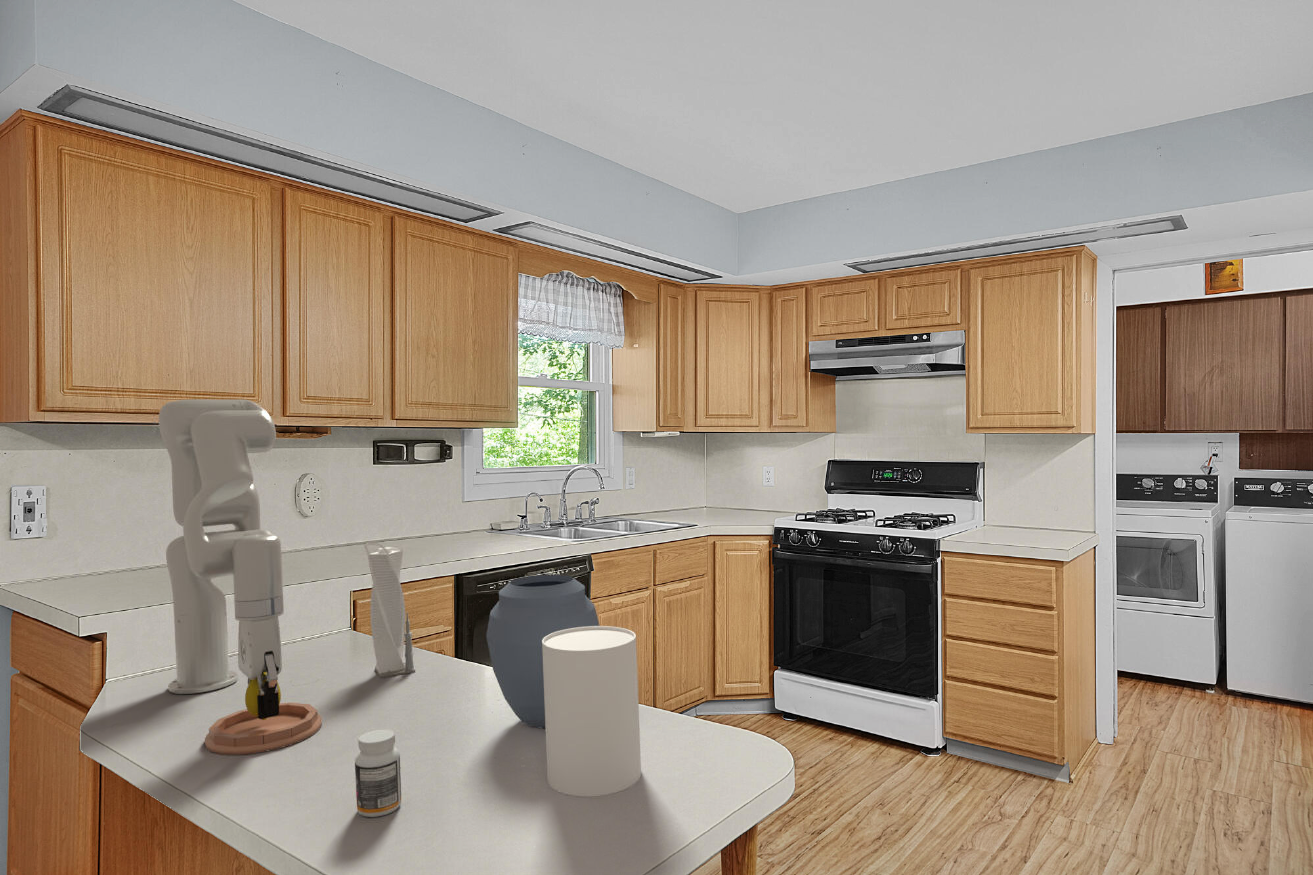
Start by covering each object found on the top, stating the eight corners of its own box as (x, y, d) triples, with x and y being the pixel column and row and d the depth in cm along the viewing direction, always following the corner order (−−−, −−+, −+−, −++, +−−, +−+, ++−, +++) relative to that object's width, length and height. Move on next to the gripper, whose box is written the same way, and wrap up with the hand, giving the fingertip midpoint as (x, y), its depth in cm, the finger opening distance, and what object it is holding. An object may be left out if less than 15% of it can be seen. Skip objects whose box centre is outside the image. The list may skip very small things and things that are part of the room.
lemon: (267, 726, 135) (265, 679, 135) (238, 725, 136) (236, 678, 136) (288, 714, 141) (286, 669, 140) (261, 713, 142) (259, 668, 142)
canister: (555, 757, 124) (550, 627, 123) (643, 754, 123) (638, 624, 123) (540, 797, 110) (534, 652, 110) (638, 795, 110) (632, 649, 109)
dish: (195, 733, 139) (194, 719, 139) (304, 707, 151) (303, 694, 151) (218, 764, 126) (217, 748, 126) (336, 733, 137) (335, 718, 137)
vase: (621, 726, 135) (615, 582, 135) (507, 751, 126) (501, 597, 126) (580, 694, 153) (575, 566, 152) (477, 713, 144) (472, 578, 144)
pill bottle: (363, 800, 111) (360, 729, 111) (406, 797, 112) (403, 726, 112) (351, 820, 105) (348, 745, 105) (396, 817, 106) (393, 742, 106)
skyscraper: (373, 679, 167) (368, 545, 167) (367, 669, 174) (361, 540, 174) (415, 671, 171) (409, 540, 171) (406, 662, 178) (401, 537, 178)
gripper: (223, 603, 142) (228, 705, 143) (247, 619, 129) (252, 731, 129) (269, 596, 147) (273, 695, 147) (297, 611, 134) (301, 719, 134)
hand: (263, 711), depth 138 cm, fingers closed on lemon, 5 cm apart
